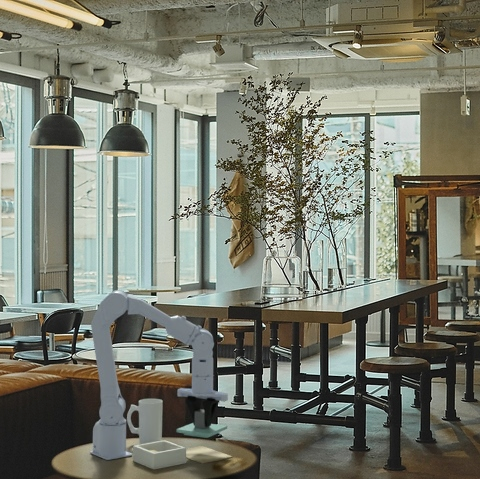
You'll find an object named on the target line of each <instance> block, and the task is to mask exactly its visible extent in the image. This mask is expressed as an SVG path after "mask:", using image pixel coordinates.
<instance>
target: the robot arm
mask: <svg viewBox="0 0 480 479" xmlns="http://www.w3.org/2000/svg"><path fill="white" fill-rule="evenodd" d="M126 311H127V315H141V316H143V317H144V318H146V319H148V320H150V321H152V322H154V323H156V324H158V325H160V326H162V327H163V328H165V331H166V334H167V335H168V336H170V337H173V338H174V339H176V340H177V341H180V342H181V343H183V344H184V345H186V346H191V347H192V348H191V349H192V355H193V356H192V358H191V388H182V387H180V388H178V389H177V397H186V398H187V399H185V402H184V403H185V404H186V406H187V408H188V410H189V412H190V416H191V419H192V423H193V424H194V425H195V411H197V410H200V409H201V406H202V405H203V406H202V407H203V410H204V412H205V427H208V426H211V424H212V421H213V418H214V414H215V411H216V409H217V408H218V405H219V404H220V402H223V403H224V402H226V401H228V400H229V398H228V396H229V394H228V393H227V392H223V391H218V390H217V391H216V390H214V358H213V355H214V351H213V348H214V346H215V342H214V337H213V334H212V333H211V332H210V331H208V330H207V329H206V328H202V326H201V325H199V324H198V325H197V324H194V323H192V322H191V321H189V320H187V317H186V316H184V315H181V316H180V315H173V316H170V315H169V314H167V313H165V312H163V311H162V310H160V309H159V308H157V307H155V306H153V305H151V304H150V303H149V302H147V301H145V300H143V299H142V298H139V297H137V296H135V295H133V294H130V293H129V294H128V293H127V292H126V291H124V290H122V289H121V290H120V289H115V290H113V291H111V292H110V293H109V294H108V295H107V296H106V297H105V298H104V299H102V301H100V303H99V306H98V308H97V310H96V311H95V314H94V316H93V318H92V319H91V320H92V321H91V323H90V328H91V334H92V341H93V346H94V354H95V360H96V367H97V373H98V380H99V386H100V402H101V403H100V407H99V412H98V413H99V418H100V419H99V420H98V421H96V422H95V424H94V426H93V428H92V450H90V451H89V454H91V455H94V456H96V457H99V458H101V459H103V460H105V461H110V460H116V459H120V458H125V457H126V458H127V457H131V456H132V457H133V452H132V453H131V452H130V451H127V418H125V416H124V413H125V411H126V406H127V405H126V400H125V399H124V397H123V396H122V393H121V389H120V386H119V381H118V374H117V368H116V362H115V356H114V349H113V342H112V334H111V329H110V327H111V326H112V325H113V323H114V322H115V321H116V320H117V319H118V318H120V317H121V316H123V315H124V314H125V313H126ZM202 399H204V400H202Z"/></svg>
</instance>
